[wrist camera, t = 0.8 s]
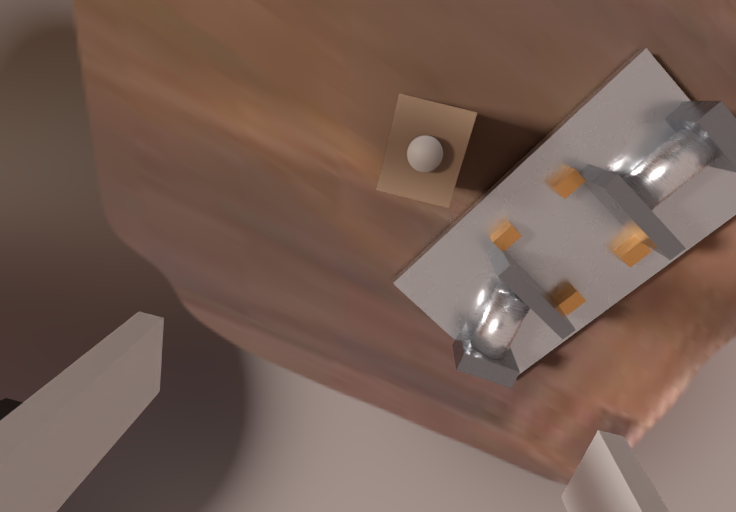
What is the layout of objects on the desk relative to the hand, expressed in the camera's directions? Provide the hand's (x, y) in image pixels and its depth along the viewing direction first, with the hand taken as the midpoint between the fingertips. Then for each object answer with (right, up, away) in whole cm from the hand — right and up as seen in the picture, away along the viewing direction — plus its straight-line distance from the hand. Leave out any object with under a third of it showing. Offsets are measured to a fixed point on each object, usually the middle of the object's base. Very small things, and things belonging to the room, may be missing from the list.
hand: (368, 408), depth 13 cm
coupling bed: (+13, +6, +17) cm, 22 cm away
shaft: (+9, 0, +20) cm, 22 cm away
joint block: (+4, +12, +16) cm, 20 cm away
